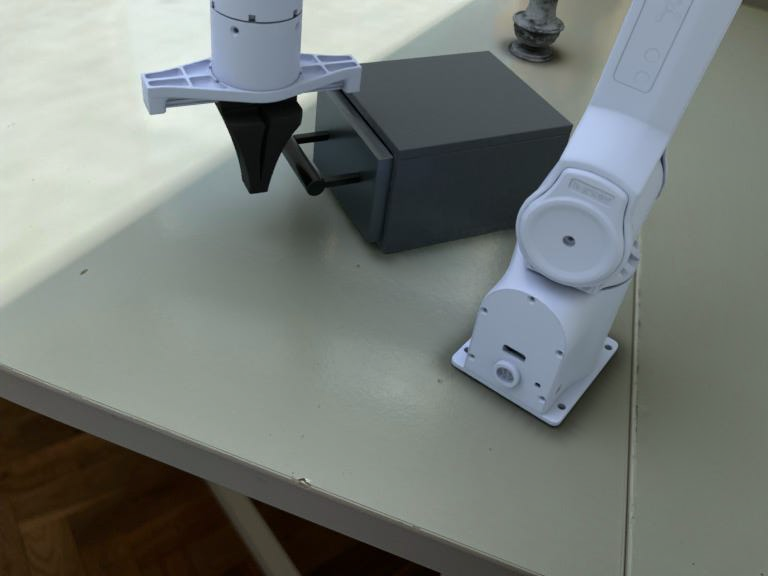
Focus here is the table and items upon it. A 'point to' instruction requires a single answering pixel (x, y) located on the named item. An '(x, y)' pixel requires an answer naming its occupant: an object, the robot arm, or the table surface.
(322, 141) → the drawer
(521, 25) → the ornate metal candlestick
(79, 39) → the table surface
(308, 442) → the table surface
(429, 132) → the cabinet
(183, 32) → the table surface
